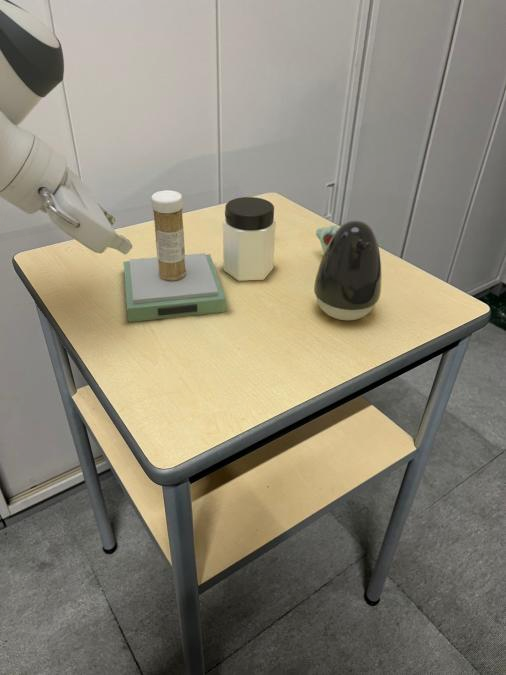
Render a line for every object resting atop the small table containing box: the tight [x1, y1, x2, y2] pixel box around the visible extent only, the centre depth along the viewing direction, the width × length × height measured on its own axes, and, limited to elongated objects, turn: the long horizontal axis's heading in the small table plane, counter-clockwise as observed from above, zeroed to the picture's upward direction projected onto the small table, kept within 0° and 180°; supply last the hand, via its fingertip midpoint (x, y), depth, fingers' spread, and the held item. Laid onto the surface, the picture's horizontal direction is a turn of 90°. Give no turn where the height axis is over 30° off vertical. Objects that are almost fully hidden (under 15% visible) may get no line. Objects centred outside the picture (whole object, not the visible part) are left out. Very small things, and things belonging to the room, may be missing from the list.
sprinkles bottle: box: [150, 189, 186, 281], centre depth 80 cm, size 5×5×13 cm
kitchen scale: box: [123, 252, 227, 323], centre depth 85 cm, size 15×15×3 cm
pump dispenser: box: [313, 220, 382, 321], centre depth 78 cm, size 10×10×15 cm
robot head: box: [315, 224, 340, 253], centre depth 94 cm, size 8×4×7 cm, turn 55°
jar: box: [222, 196, 277, 282], centre depth 89 cm, size 9×8×12 cm
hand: (119, 234), depth 76 cm, fingers open, 8 cm apart
